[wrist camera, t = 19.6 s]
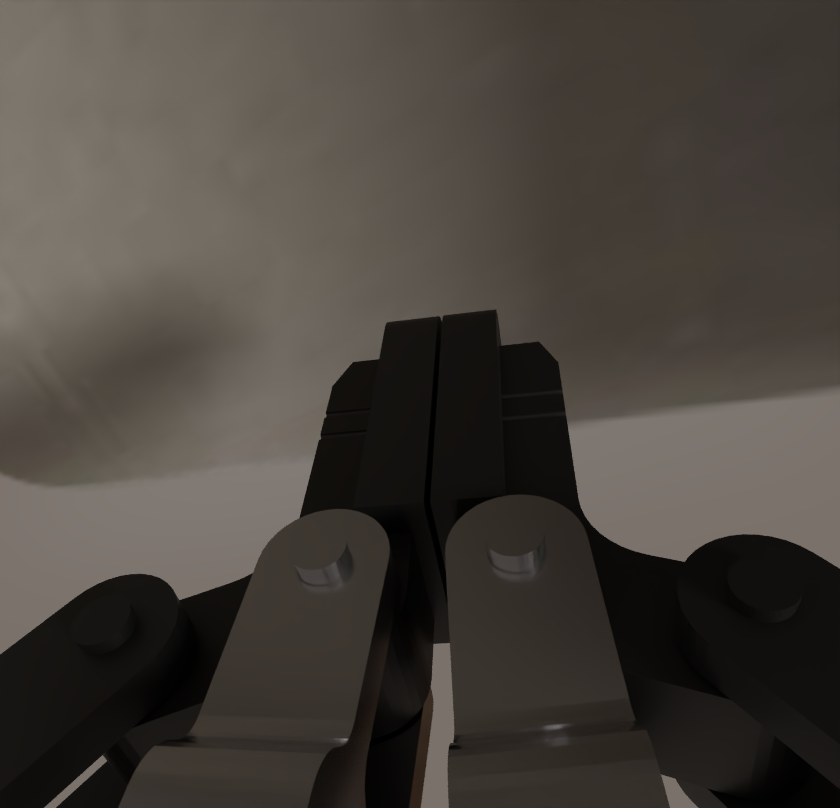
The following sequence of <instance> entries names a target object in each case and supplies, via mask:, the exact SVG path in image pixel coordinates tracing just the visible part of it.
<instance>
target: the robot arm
mask: <svg viewBox="0 0 840 808" xmlns="http://www.w3.org/2000/svg"><path fill="white" fill-rule="evenodd" d="M326 415H327V417H326V418H324V422H323V426H322V430H321V440H319V442H318V446H317V450H316V454H315V458H314V462H313V466H312V470H311V475H310V479H309V482H308V486H307V490H306V494H305V498H304V503H303V506H302V510H301V514H300V518H299V519H297V520H295V521H293V522H292V523H290V524H289V525H287V526H286V527H284V528H283V529H282V530H280V531H279V532H278V533H277V534H276V535H275V536H274V537H273V538H272V539H271V540H270V541H269V542H268V544H267V545H266V546H265V548H264V549H263V551H262V553H261V555H260V557H259V559H258V562H257V564H256V567H255V569H254V572H253V573H252V574H250V575H248V576H246V577H245V578H242V579H240V580H237V581H235V582H232V583H229V584H226V585H224V586H220V587H217V588H215V589H212V590H209V591H206V592H203V593H200V594H197V595H194V596H191V597H188V598H185V599H182V600H179V599H178V597H177V596H176V594H175V592H174V590H173V589H172V588H171V586H170V585H168V583H166V582H165V581H163V580H162V579H160V578H158V577H155V576H152V575H146V574H130V575H124V576H119V577H115V578H112V579H109V580H106V581H104V582H101V583H99V584H97V585H95V586H93V587H91V588H89V589H88V590H86V591H84V592H83V593H82V594H80V595H79V596H77V597H76V598H74V599H73V600H72V601H70V602H69V603H68V604H66V605H65V606H64V607H62V608H61V609H60V610H58V611H57V612H56V613H55V614H53V615H52V616H50V617H49V618H48V619H46V620H45V621H44V622H43V623H41V624H40V625H39V626H37V627H36V628H35V629H33V630H32V631H31V632H29V633H28V634H27V635H25V636H24V637H23V638H21V639H20V640H19V641H18V642H16V643H15V644H14V645H12V646H11V647H10V648H8V649H7V650H6V651H4V652H3V653H2V654H0V808H44V807H45V806H46V805H47V804H48V803H49V802H51V801H52V800H53V799H54V798H55V797H56V796H57V795H58V794H60V793H61V792H62V791H63V790H64V789H65V788H66V787H67V786H68V785H70V784H71V783H72V782H73V781H74V780H75V779H76V778H77V777H78V776H80V774H82V773H83V772H84V771H85V770H86V769H87V768H88V767H89V766H91V765H92V764H93V763H94V762H95V761H96V760H97V759H98V758H99V757H101V756H102V755H103V756H104V757H105V759H106V760H107V762H106V763H105V764H104V765H102V767H100V768H99V769H98V770H97V771H96V772H95V773H94V774H93V775H92V776H90V777H89V778H88V779H87V780H86V781H85V782H84V783H83V784H82V785H80V786H79V787H78V788H77V789H76V790H75V791H74V792H73V793H72V794H71V795H69V796H68V797H67V798H66V799H65V800H64V801H63V802H62V803H61V804H60V805H58V806H57V807H56V808H421V802H422V793H423V786H424V778H425V770H426V762H427V755H428V746H429V738H430V730H431V723H432V715H433V695H432V690H431V687H430V686H431V680H432V660H433V644H436V643H450V653H451V673H452V690H453V710H454V742H453V743H451V744H450V745H449V751H448V799H449V808H670V806H669V802H668V799H667V795H666V791H665V787H664V784H663V780H662V777H661V774H662V775H665V776H669V777H672V778H675V779H676V780H677V782H678V784H679V785H680V787H681V788H682V790H683V791H684V792H685V794H686V795H687V796H688V797H689V798H690V799H691V801H692V802H693V803H694V804H695V805H696V806H697V807H699V808H840V569H839V568H838V567H836V566H834V565H833V564H831V563H829V562H828V561H826V560H824V559H823V558H821V557H819V556H818V555H816V554H814V553H813V552H811V551H809V550H807V549H805V548H803V547H801V546H799V545H797V544H794V543H791V542H789V541H786V540H782V539H779V538H774V537H770V536H763V535H746V534H745V535H744V534H743V535H733V536H727V537H724V538H719V539H716V540H714V541H711V542H709V543H707V544H705V545H703V546H702V547H700V548H698V549H697V550H695V551H694V552H693V553H692V554H691V555H690V556H689V557H688V558H687V560H686V561H685V562H682V561H677V560H672V559H667V558H661V557H656V556H651V555H646V554H642V553H639V552H635V551H632V550H629V549H626V548H624V547H621V546H619V545H617V544H616V543H614V542H612V541H610V540H609V539H607V538H606V537H604V536H603V535H601V534H600V533H599V532H598V531H597V530H596V529H595V528H593V526H592V525H591V524H590V523H589V521H588V520H587V519H586V517H585V516H584V514H583V511H582V509H581V507H580V503H579V499H578V493H577V486H576V480H575V472H574V466H573V459H572V452H571V446H570V439H569V432H568V425H567V419H566V413H565V405H564V398H563V393H562V385H561V378H560V371H559V365H558V362H557V361H556V360H555V359H554V357H553V356H552V355H551V354H550V353H549V352H548V351H547V350H546V349H545V348H544V347H543V346H542V345H541V343H540V342H532V343H522V344H513V345H504V346H501V338H500V330H499V323H498V316H497V311H496V310H487V311H479V312H470V313H461V314H453V315H444V316H443V319H442V321H441V318H440V317H439V316H437V317H429V318H420V319H411V320H403V321H394V322H387V323H386V326H385V331H384V336H383V342H382V348H381V353H380V359H378V360H368V361H359V362H353V363H352V364H351V365H350V366H349V368H348V369H347V370H346V371H345V372H344V373H343V375H342V376H341V377H340V378H339V379H338V381H337V382H336V383H335V384H334V385H333V387H332V391H331V395H330V399H329V403H328V407H327V411H326Z"/></svg>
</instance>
